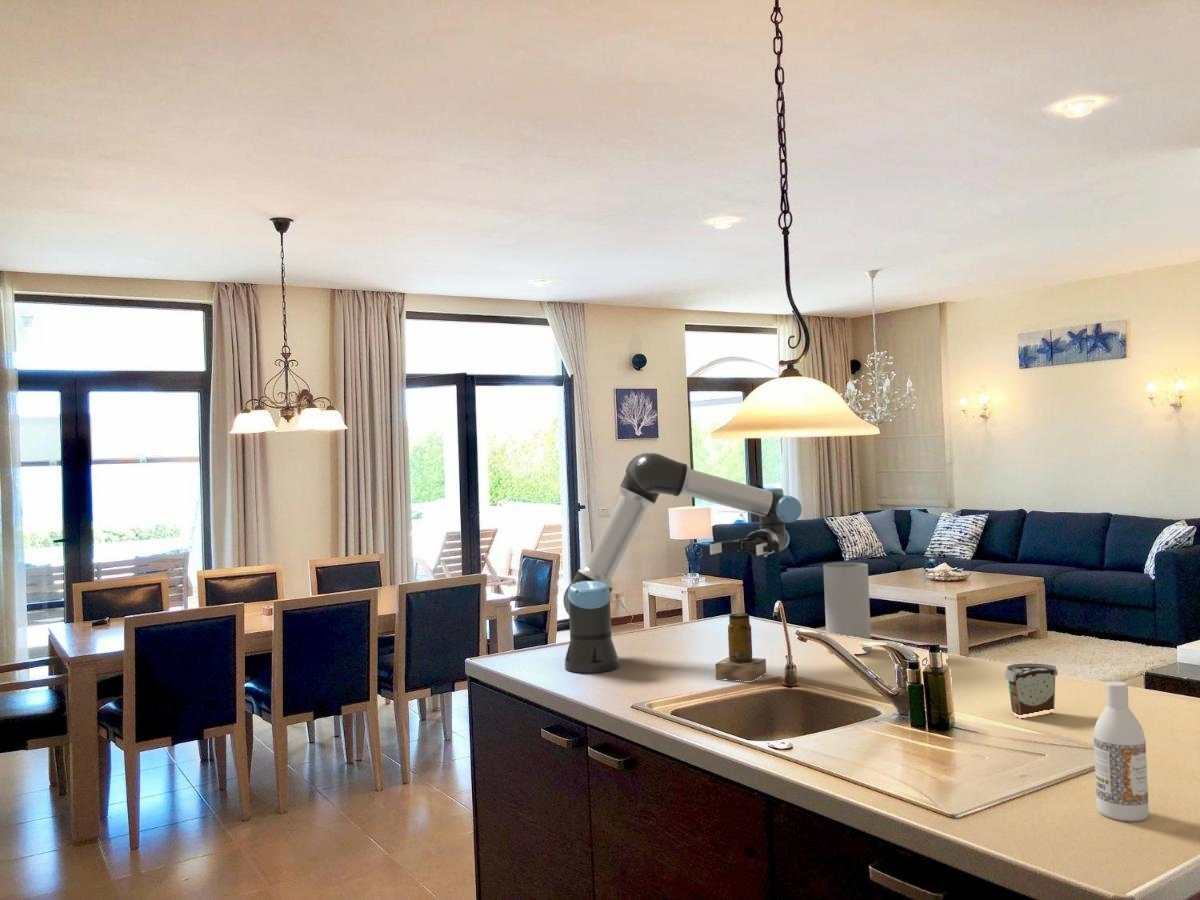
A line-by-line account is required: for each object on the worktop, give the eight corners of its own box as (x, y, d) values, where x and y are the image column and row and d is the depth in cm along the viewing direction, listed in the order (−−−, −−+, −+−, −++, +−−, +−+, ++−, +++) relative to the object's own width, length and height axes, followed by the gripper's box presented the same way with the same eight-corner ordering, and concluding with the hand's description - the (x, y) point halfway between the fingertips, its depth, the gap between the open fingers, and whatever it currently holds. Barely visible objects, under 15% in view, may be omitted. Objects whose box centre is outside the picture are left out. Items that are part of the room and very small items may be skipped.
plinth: (716, 679, 242) (715, 663, 242) (730, 671, 250) (730, 655, 250) (752, 682, 237) (751, 665, 237) (766, 674, 245) (765, 658, 245)
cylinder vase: (823, 647, 277) (819, 563, 277) (865, 646, 276) (861, 561, 277) (831, 656, 264) (828, 568, 265) (876, 655, 264) (872, 566, 264)
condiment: (739, 656, 249) (737, 611, 249) (764, 660, 243) (762, 614, 243) (721, 661, 244) (719, 615, 244) (746, 665, 238) (744, 618, 238)
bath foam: (1128, 826, 139) (1121, 691, 139) (1087, 811, 145) (1081, 681, 145) (1159, 817, 141) (1153, 685, 142) (1118, 802, 148) (1112, 676, 148)
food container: (1036, 706, 205) (1034, 660, 206) (1059, 712, 200) (1057, 665, 200) (992, 713, 201) (990, 666, 201) (1015, 720, 195) (1012, 672, 195)
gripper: (803, 556, 268) (778, 564, 250) (722, 555, 280) (693, 562, 262) (802, 530, 268) (777, 536, 250) (721, 530, 281) (692, 535, 262)
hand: (734, 549), depth 256 cm, fingers open, 13 cm apart
